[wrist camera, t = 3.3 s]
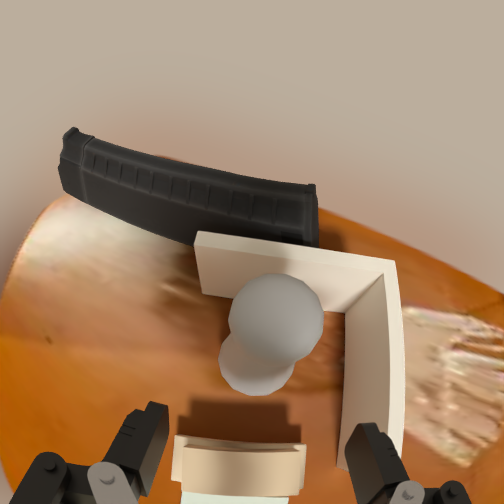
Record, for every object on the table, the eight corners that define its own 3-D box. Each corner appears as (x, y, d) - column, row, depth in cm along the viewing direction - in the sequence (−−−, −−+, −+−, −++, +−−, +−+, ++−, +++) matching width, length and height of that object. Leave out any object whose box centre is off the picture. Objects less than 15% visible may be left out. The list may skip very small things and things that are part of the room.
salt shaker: (281, 403, 21) (339, 389, 10) (212, 389, 21) (194, 363, 10) (292, 338, 24) (347, 265, 13) (228, 326, 24) (229, 240, 13)
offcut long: (299, 442, 19) (306, 444, 17) (296, 482, 17) (303, 488, 15) (179, 433, 19) (174, 435, 17) (176, 474, 17) (171, 480, 15)
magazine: (372, 210, 21) (66, 67, 17) (370, 241, 19) (40, 84, 15) (280, 284, 35) (78, 180, 31) (273, 306, 33) (64, 197, 29)
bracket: (355, 302, 26) (394, 260, 19) (348, 465, 17) (397, 479, 11) (204, 282, 26) (197, 230, 19) (172, 452, 17) (145, 469, 11)
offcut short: (294, 447, 17) (300, 451, 15) (292, 487, 15) (298, 494, 13) (187, 443, 17) (182, 446, 15) (185, 483, 15) (181, 491, 13)
